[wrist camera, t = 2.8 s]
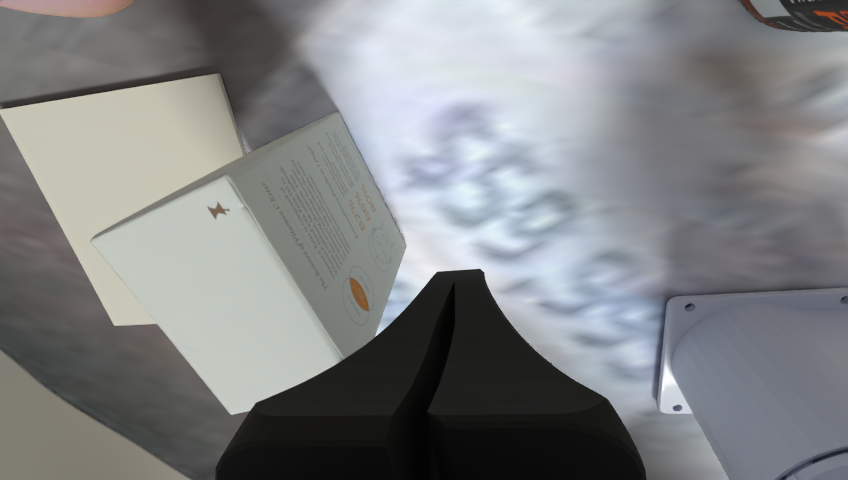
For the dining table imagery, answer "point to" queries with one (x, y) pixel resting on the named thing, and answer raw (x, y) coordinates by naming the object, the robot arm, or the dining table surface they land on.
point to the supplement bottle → (801, 14)
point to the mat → (122, 161)
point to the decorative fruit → (69, 7)
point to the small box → (265, 263)
